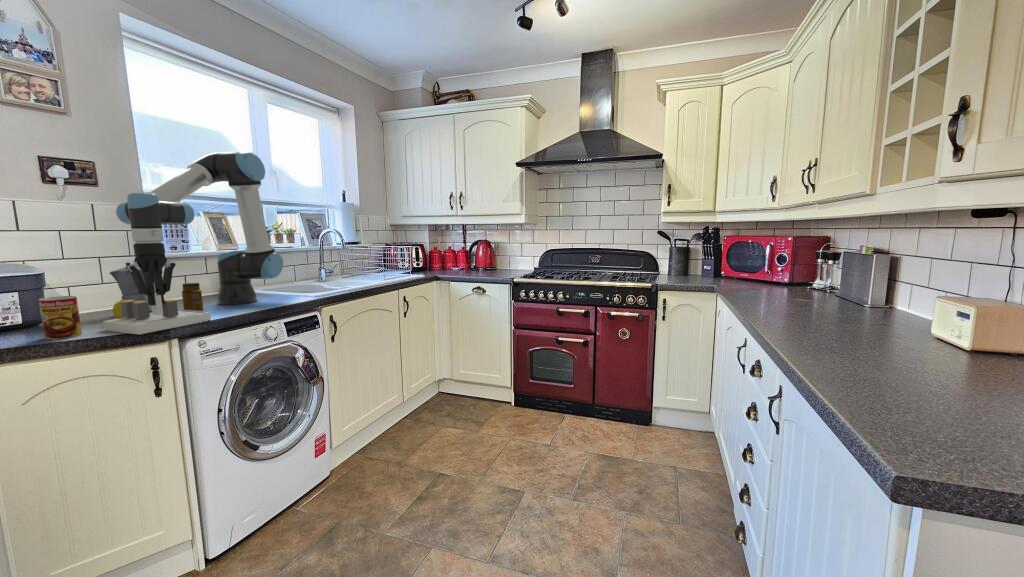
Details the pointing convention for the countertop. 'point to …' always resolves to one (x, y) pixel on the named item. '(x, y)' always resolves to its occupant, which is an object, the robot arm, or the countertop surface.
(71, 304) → the canned food
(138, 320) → the panel
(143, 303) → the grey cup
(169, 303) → the grey block
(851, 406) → the countertop surface
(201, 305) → the condiment
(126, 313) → the knob far
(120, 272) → the moka pot
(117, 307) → the lemon
